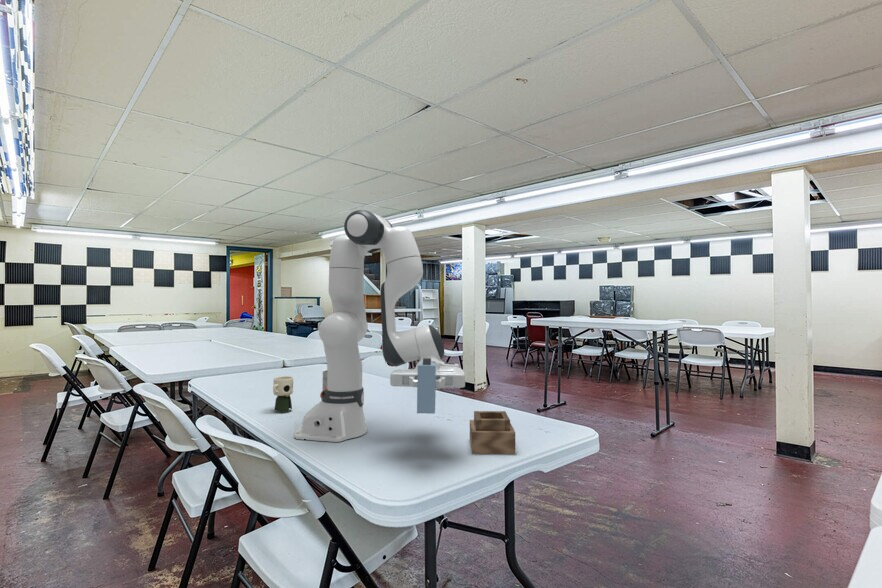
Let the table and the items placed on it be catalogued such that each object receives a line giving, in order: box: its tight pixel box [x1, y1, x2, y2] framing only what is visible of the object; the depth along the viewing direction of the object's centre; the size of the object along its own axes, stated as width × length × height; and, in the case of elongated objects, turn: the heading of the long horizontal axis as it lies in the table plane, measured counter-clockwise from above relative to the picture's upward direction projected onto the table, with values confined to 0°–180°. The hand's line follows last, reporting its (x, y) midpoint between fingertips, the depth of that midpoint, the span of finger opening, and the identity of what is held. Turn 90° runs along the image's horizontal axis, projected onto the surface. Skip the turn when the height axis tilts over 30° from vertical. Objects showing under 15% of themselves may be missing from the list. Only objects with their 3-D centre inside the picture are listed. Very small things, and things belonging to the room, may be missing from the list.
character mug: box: [272, 375, 294, 413], centre depth 158 cm, size 11×7×13 cm, turn 162°
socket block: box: [469, 410, 516, 455], centre depth 120 cm, size 12×12×9 cm
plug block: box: [416, 358, 437, 415], centre depth 106 cm, size 4×4×14 cm
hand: (426, 384), depth 105 cm, fingers closed on plug block, 4 cm apart
